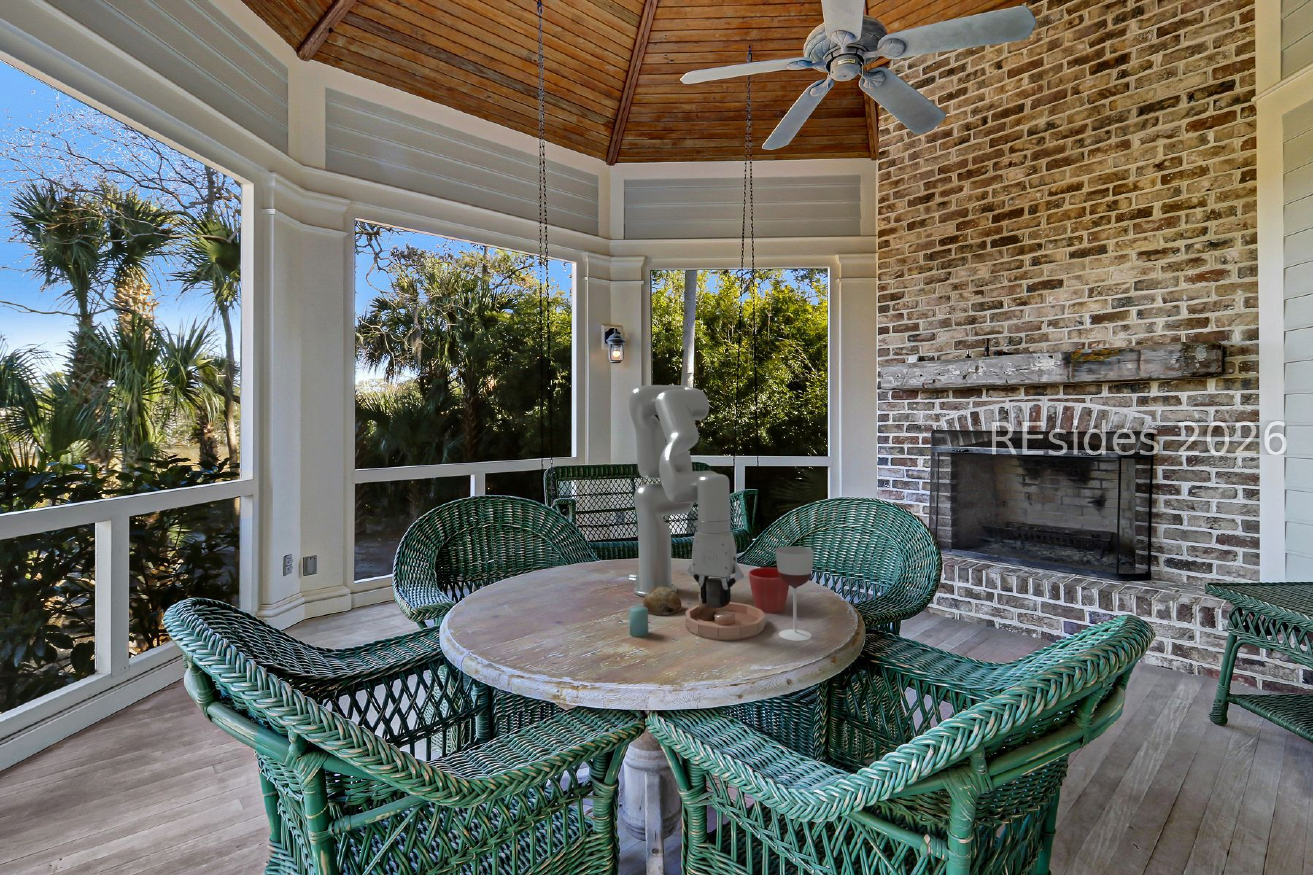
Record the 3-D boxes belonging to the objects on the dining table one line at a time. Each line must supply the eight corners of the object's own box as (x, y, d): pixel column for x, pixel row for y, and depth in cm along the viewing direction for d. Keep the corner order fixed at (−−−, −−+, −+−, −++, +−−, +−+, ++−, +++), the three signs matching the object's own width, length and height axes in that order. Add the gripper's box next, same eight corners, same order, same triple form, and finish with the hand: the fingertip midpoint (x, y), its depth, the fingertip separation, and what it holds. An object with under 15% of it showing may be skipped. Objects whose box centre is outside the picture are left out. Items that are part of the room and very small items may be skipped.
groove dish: (672, 632, 155) (672, 619, 155) (706, 609, 172) (706, 598, 172) (746, 645, 146) (746, 632, 146) (775, 620, 162) (775, 608, 162)
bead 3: (700, 621, 160) (699, 597, 159) (697, 615, 164) (697, 592, 164) (717, 620, 160) (717, 596, 160) (715, 614, 164) (714, 591, 164)
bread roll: (650, 630, 168) (656, 606, 164) (634, 603, 176) (639, 580, 172) (683, 623, 172) (690, 599, 169) (666, 598, 180) (672, 575, 177)
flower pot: (791, 615, 166) (790, 578, 165) (747, 613, 168) (747, 576, 167) (791, 603, 176) (790, 567, 176) (750, 601, 178) (749, 566, 178)
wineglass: (807, 643, 146) (806, 555, 145) (771, 636, 151) (770, 551, 150) (818, 632, 153) (818, 548, 152) (783, 626, 158) (782, 545, 157)
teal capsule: (626, 635, 154) (625, 610, 154) (635, 629, 158) (635, 605, 157) (642, 638, 152) (641, 613, 151) (651, 632, 156) (651, 607, 155)
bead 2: (721, 601, 156) (720, 577, 156) (727, 606, 152) (727, 581, 152) (703, 603, 155) (703, 578, 155) (710, 608, 151) (709, 583, 151)
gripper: (675, 527, 154) (676, 603, 154) (741, 532, 145) (742, 612, 146) (689, 522, 160) (691, 595, 161) (753, 526, 152) (755, 603, 153)
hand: (715, 602), depth 153 cm, fingers closed on bead 2, 4 cm apart
